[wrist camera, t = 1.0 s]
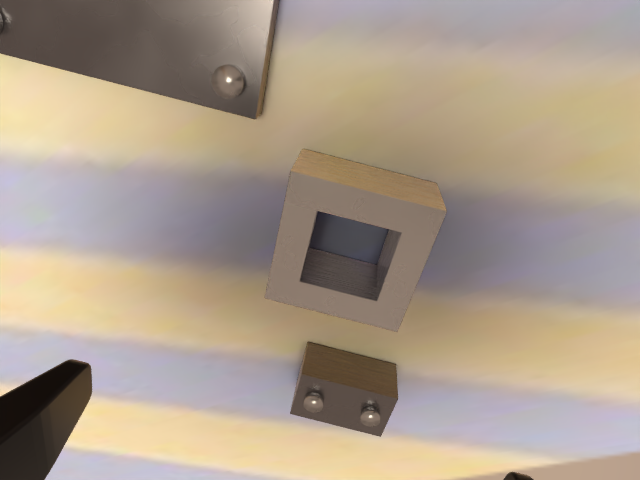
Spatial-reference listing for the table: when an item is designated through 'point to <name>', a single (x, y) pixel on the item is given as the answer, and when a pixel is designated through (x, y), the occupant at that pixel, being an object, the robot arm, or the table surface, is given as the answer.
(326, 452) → the table surface
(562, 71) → the table surface
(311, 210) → the socket
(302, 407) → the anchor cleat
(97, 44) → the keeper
